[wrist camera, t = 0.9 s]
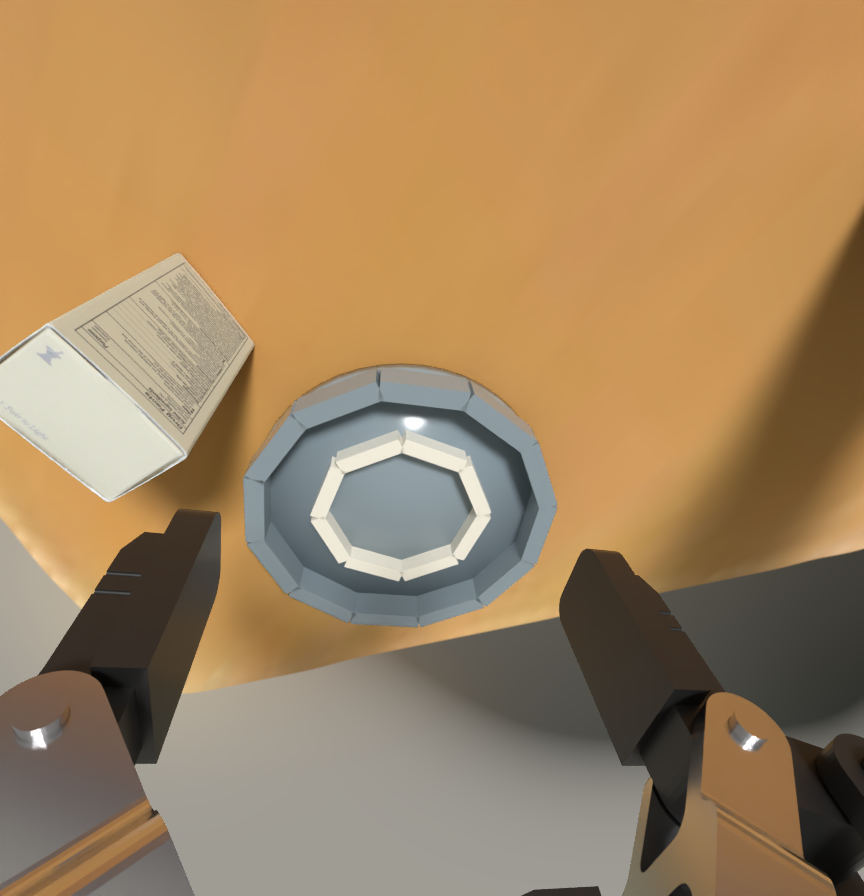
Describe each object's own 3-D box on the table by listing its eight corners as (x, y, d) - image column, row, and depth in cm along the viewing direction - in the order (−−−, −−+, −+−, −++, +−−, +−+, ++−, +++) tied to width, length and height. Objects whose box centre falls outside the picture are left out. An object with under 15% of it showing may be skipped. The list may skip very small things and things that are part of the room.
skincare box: (121, 292, 27) (-52, 383, 16) (183, 247, 26) (42, 315, 15) (204, 383, 30) (104, 509, 19) (263, 346, 29) (189, 458, 18)
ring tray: (494, 314, 29) (505, 332, 26) (566, 548, 39) (579, 578, 36) (196, 429, 31) (177, 457, 29) (337, 620, 41) (333, 653, 39)
